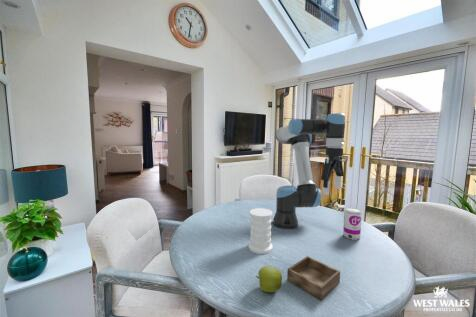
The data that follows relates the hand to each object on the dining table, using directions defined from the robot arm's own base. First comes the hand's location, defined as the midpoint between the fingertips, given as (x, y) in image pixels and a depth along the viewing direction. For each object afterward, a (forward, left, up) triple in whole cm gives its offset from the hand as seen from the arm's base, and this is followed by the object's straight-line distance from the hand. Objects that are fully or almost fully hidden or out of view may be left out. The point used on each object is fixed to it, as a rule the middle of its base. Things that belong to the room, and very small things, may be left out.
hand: (331, 191), depth 104 cm
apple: (0, -45, -28) cm, 53 cm away
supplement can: (+2, +20, -28) cm, 34 cm away
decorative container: (-22, -26, -28) cm, 44 cm away
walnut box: (+8, -29, -28) cm, 41 cm away
